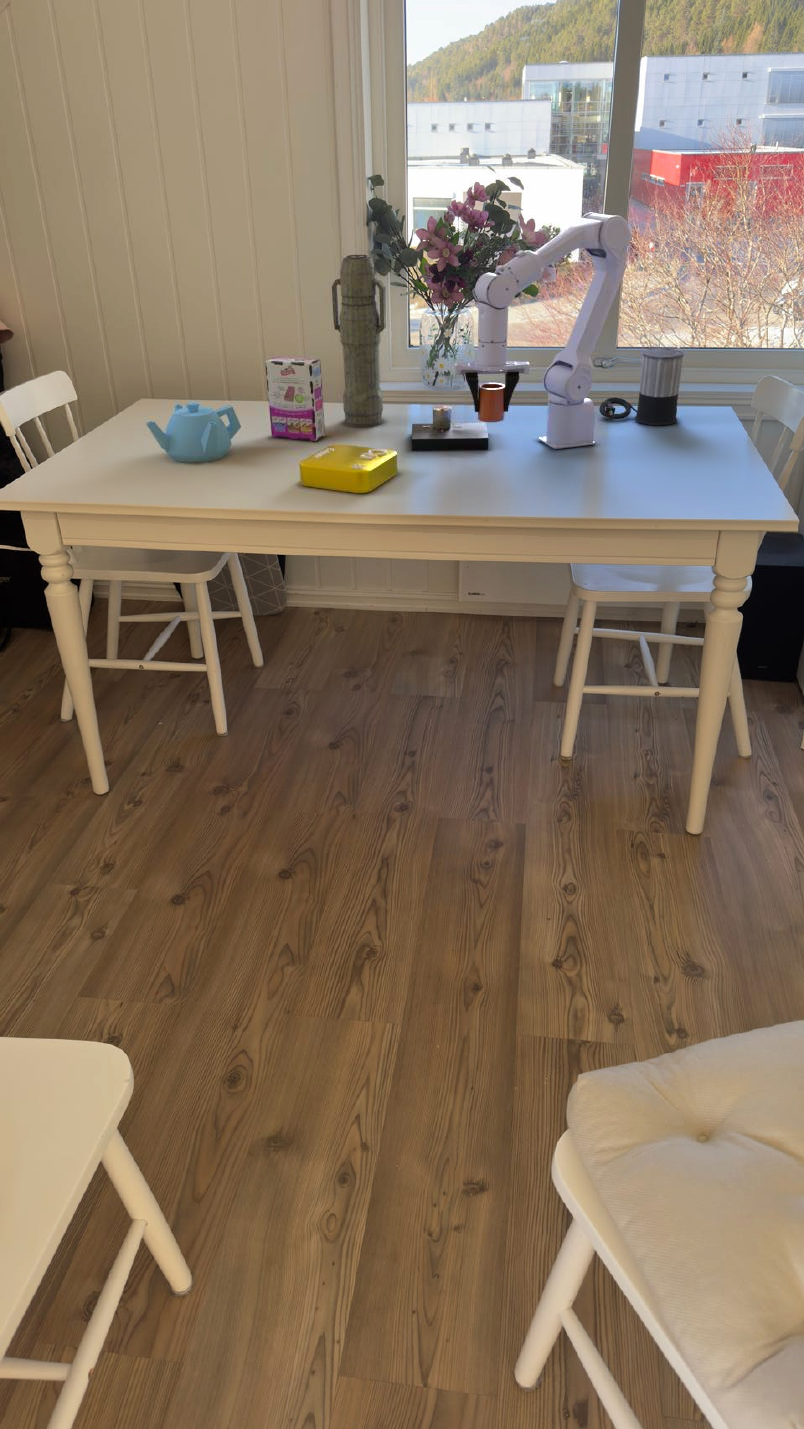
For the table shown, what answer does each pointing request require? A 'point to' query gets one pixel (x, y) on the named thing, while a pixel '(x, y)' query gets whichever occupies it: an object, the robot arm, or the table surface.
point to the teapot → (196, 433)
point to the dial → (441, 417)
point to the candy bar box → (295, 398)
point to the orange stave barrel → (491, 402)
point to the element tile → (348, 468)
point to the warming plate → (450, 437)
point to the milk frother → (653, 389)
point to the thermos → (360, 339)
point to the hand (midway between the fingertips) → (490, 410)
